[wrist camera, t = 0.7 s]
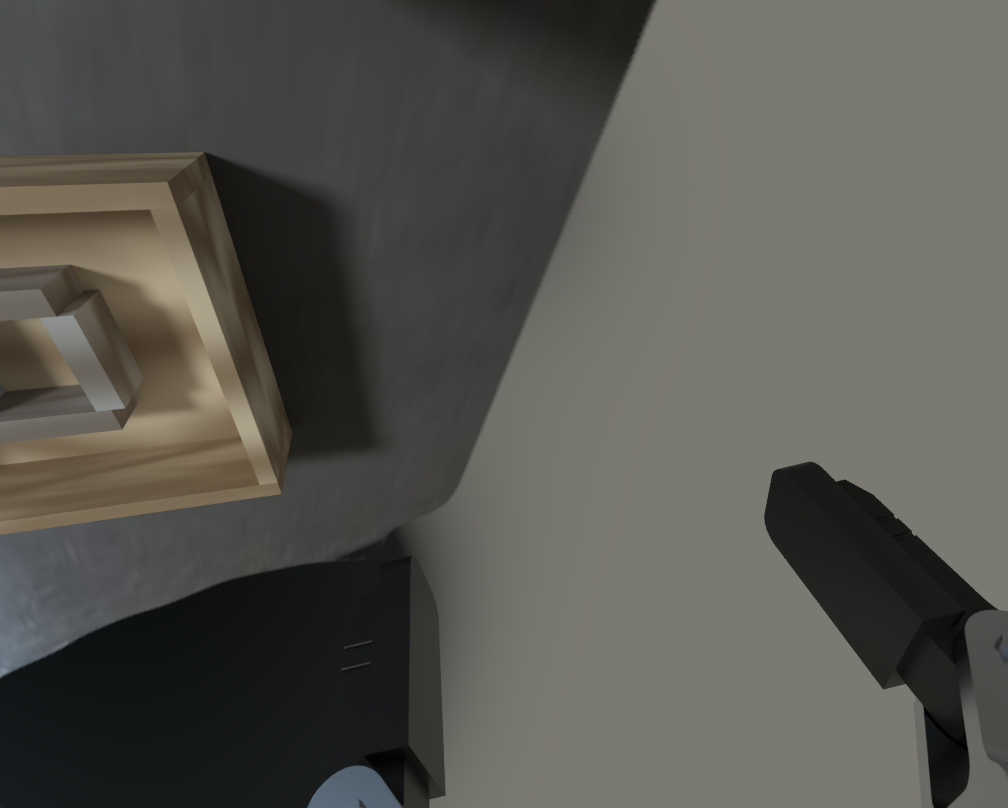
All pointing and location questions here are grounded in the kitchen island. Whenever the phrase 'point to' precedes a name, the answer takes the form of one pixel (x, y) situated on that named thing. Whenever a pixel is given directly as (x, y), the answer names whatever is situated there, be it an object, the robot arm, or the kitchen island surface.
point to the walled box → (127, 345)
